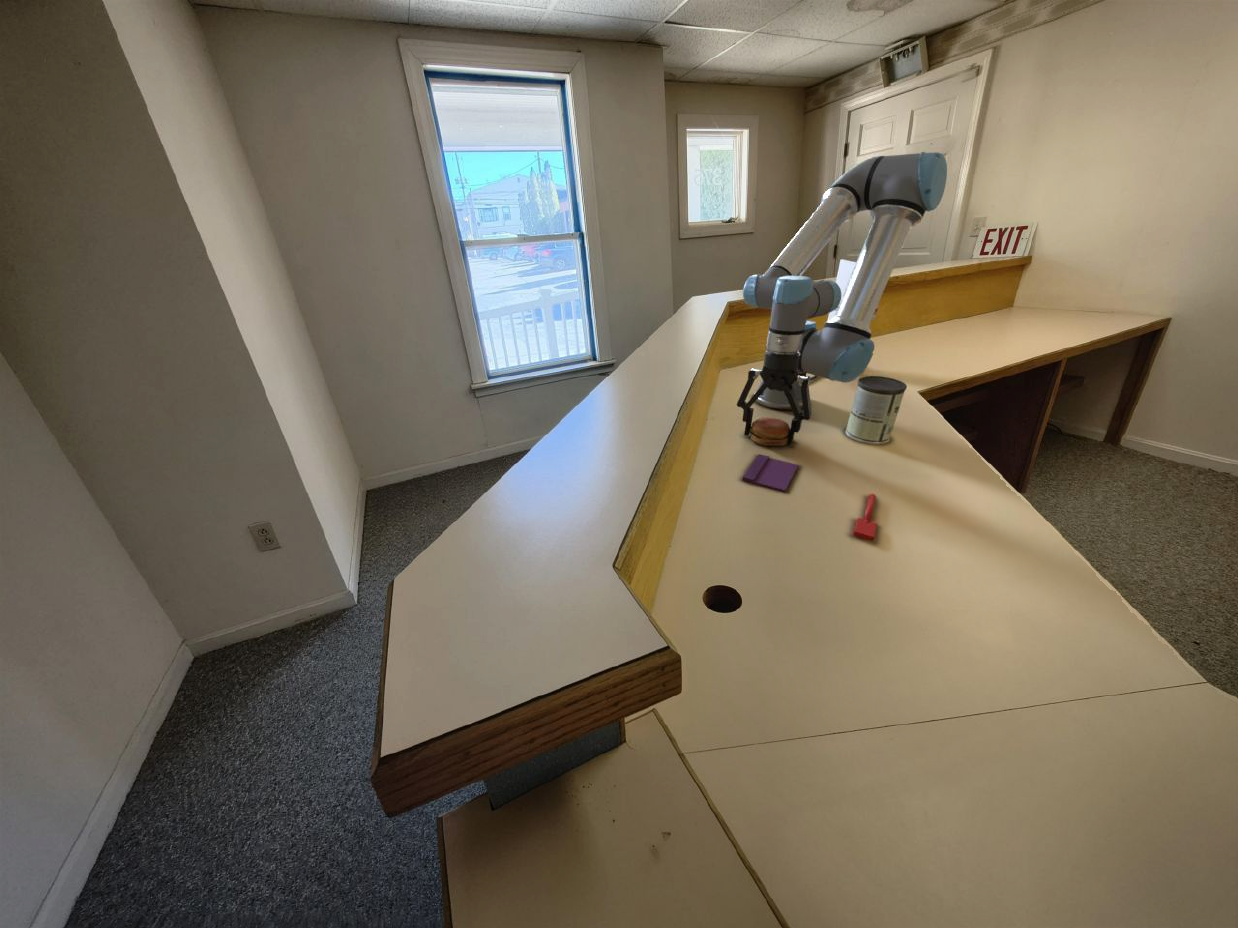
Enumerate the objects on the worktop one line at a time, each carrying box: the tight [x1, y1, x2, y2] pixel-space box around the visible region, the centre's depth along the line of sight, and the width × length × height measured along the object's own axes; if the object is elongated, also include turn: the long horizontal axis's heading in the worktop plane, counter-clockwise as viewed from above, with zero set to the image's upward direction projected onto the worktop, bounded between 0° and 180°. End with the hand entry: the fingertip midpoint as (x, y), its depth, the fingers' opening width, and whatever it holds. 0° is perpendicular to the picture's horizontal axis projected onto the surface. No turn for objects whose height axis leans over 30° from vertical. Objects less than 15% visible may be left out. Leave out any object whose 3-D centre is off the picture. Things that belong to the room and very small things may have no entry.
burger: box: [749, 416, 791, 447], centre depth 113 cm, size 10×9×5 cm
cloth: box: [742, 453, 799, 493], centre depth 99 cm, size 12×9×1 cm
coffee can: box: [844, 375, 908, 445], centre depth 112 cm, size 10×10×14 cm
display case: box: [827, 258, 881, 327], centre depth 156 cm, size 11×11×35 cm
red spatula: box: [852, 493, 878, 542], centre depth 85 cm, size 15×3×1 cm, turn 149°
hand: (768, 438), depth 113 cm, fingers closed on burger, 10 cm apart
